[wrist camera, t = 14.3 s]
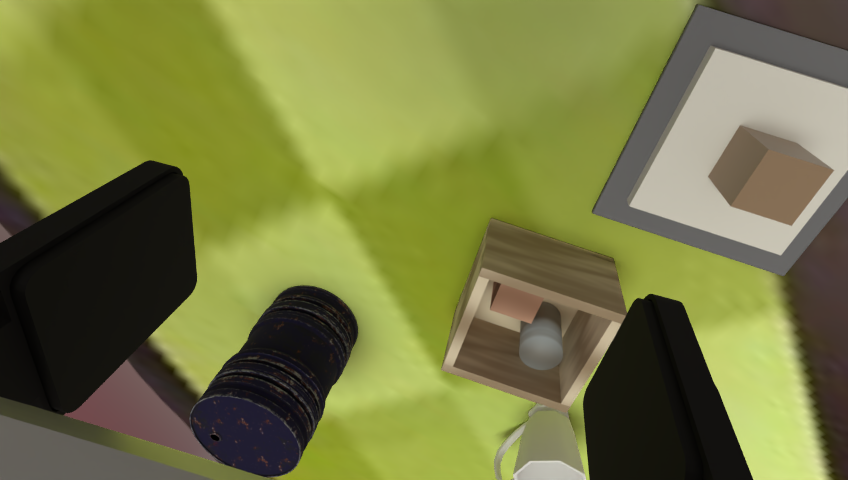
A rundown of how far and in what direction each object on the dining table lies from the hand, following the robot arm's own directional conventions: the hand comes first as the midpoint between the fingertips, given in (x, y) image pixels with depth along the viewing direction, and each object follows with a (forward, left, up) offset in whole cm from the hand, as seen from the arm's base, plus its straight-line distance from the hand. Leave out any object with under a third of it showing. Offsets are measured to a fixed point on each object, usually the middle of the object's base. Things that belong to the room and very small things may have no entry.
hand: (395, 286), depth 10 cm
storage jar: (+32, -10, -31) cm, 45 cm away
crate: (+19, +9, -30) cm, 37 cm away
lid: (+2, +19, -30) cm, 36 cm away
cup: (+35, +16, -31) cm, 49 cm away
